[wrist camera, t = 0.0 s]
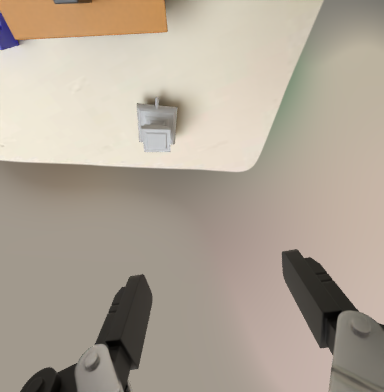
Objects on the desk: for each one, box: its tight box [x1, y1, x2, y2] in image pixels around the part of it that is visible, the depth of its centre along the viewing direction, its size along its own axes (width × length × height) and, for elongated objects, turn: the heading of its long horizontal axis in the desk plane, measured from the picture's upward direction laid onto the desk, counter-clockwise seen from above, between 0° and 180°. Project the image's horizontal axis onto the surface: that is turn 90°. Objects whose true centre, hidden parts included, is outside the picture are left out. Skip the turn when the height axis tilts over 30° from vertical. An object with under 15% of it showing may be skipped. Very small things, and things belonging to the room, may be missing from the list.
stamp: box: [137, 97, 177, 152], centre depth 34 cm, size 9×7×8 cm
